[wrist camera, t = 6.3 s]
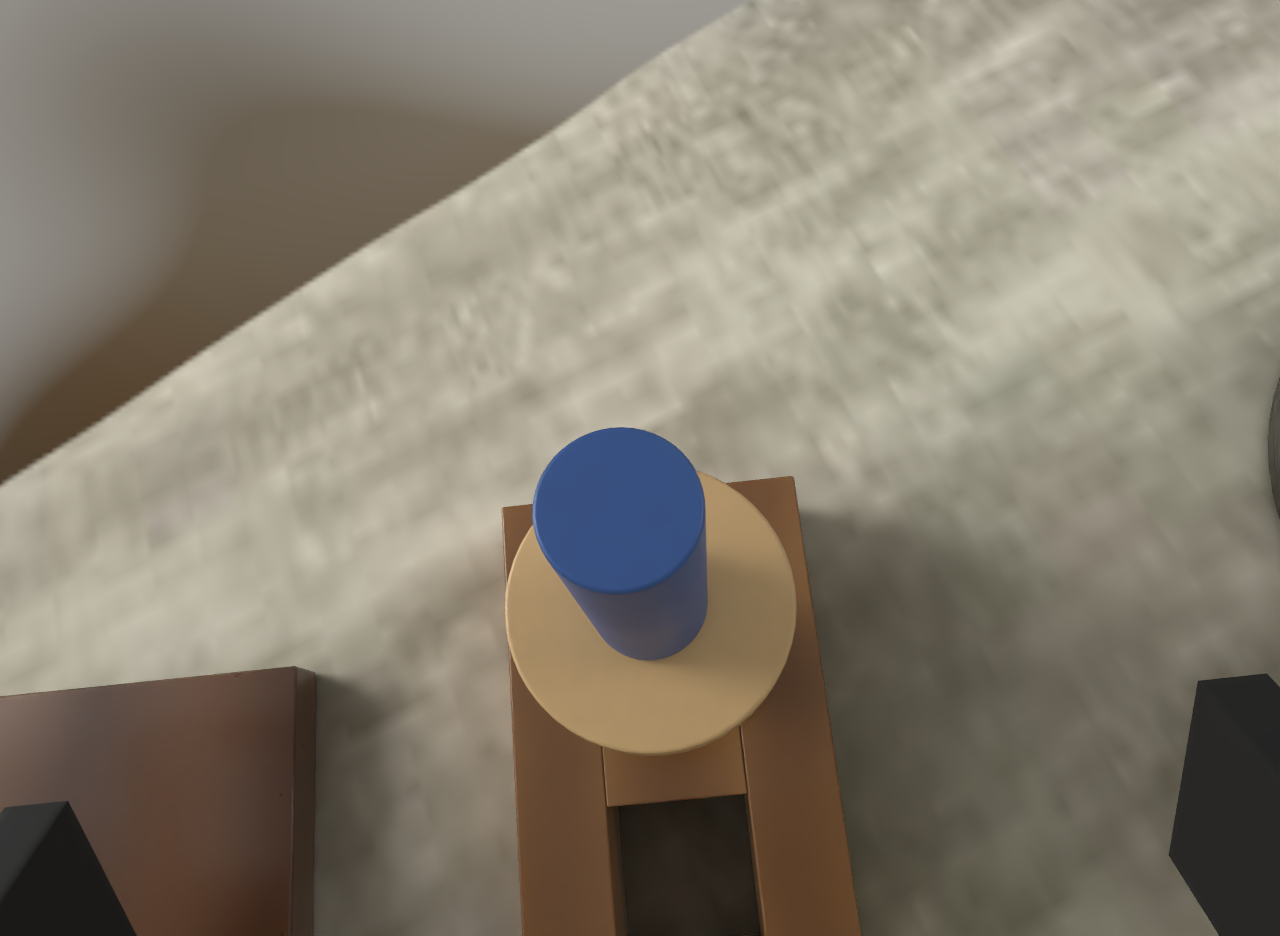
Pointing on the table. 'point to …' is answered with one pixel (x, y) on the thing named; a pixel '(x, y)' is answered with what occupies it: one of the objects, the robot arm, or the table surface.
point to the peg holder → (690, 784)
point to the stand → (182, 793)
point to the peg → (647, 597)
